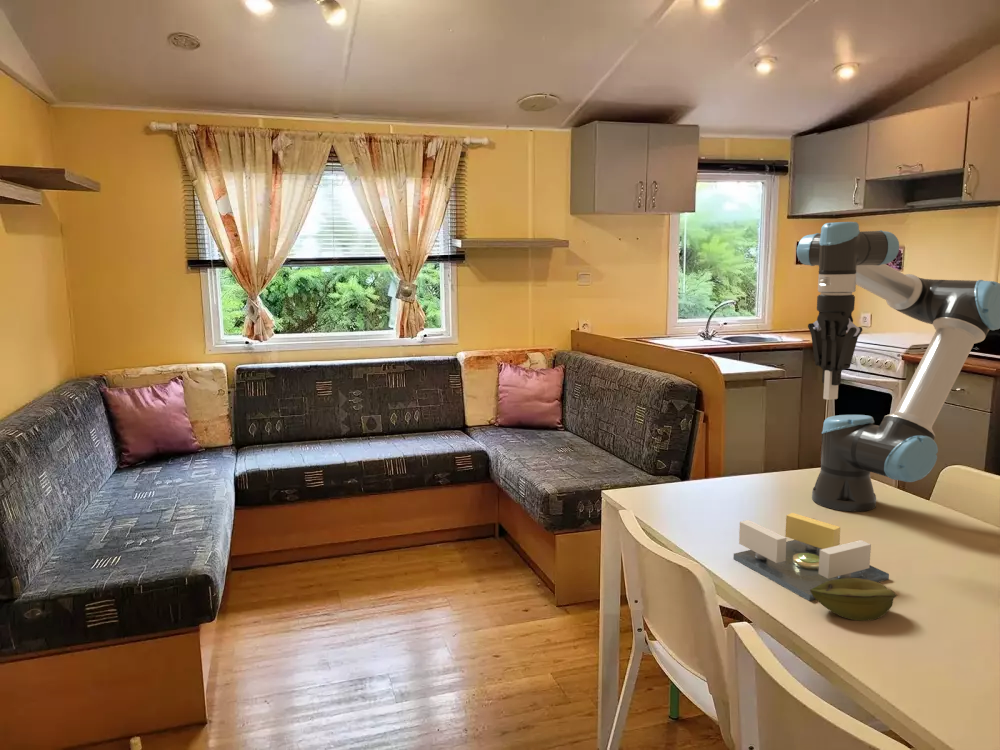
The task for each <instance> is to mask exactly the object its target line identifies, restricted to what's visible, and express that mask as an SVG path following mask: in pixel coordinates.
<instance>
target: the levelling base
mask: <svg viewBox="0 0 1000 750" xmlns="http://www.w3.org/2000/svg"><path fill="white" fill-rule="evenodd" d="M805 545H806V543H803V542H800V541H797V540H794V539H792V540H788V541H787V540H786V559H785V561H783V562H778V563H775V562H774V561H772V560H770V559H768V558H767V559H765V560H761V559H757V558H756V557H755V553H756V552H754V551H752V550H750V549H748V550H744V551H740V552H735V553H733V560H735V561H736V562H738V563H740V564H741V565H743V566H745V567H747V568H749V569H751V570H753V571H755V572H756V573H758V574H759V575H762V576H763V577H765V578H767V579H768V580H771V581H772V582H774V583H776V584H778V585H779V586H782V587H783V588H785V589H787V590H789V591H791V592H792V593H794V594H796V595H798V596H800V597H802V598H803V599H805V600H807V601H808V602H811V601H814V600H816V599H815V598H814V596H813V595H812V593H811V592H810V590H811V589H812V588H815V587H817V586H818V585H820V584H822V583H824V582H827V581H830V580H835V579H841V578H839V577H838V576H837V577H833V578H829V579H828V578H826V577H824V576H822V575H820V574H818V572H819V553H820V550H821V548H818V547H817V550H808V549H806V548H805ZM851 578H861V579H868V580H872V581H875V582H878V583H881V582H884V581H888V580H889V579H890V574H889V573H888V572H886V571H884V570H881V569H879V568H877V567H875V566H872V565H871V564H870V568H868V569H864V570H860V571H856V572H852V573H851Z"/></svg>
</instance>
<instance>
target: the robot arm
mask: <svg viewBox="0 0 1000 750" xmlns="http://www.w3.org/2000/svg"><path fill="white" fill-rule="evenodd" d="M899 252H900V241H899V239H898V237H897V236H896V235H895V234H894V233H893V232H891V231H884V230H865V231H860V224H859V223H858V222H856V221H837V222H826V223H824V224H823V225H822V226H821V228H820V232H816V233H813V234H807V235H804V236H802V237H801V238H800V240H799V241H798V245H797V247H796V256H797V259H798V260H799V262H800V263H801V264H803V265H805V266H811V267H814V266H817V267H818V280H817V292H818V293H820V294H818V295H817V297H816V311H818V315H817V317H816V320H815V321H814V322H812V323H808V324H807V329H808V330H809V332H810V335H811V343H812V350H813V358H814V364H815V366H817V367H820V368H821V369H822V379H821V381H822V384H823V394H822V395H823V396H822V398H823V400H828V401H829V400H830V401H831V400H837V399H838V398H839V386H840V385H841V383H842V371H844V370H847V369H850V367H851V364H852V360H853V356H854V353H855V349H856V346H857V342H858V339H859V336H860V335H861V334H862V333H863V327H862V326H858V325H856V324H855V323H854V318H853V316H852V313H853V311H854V310H855V300H856V296H855V295H854V294H853V293H855V292H856V290H857V289H856V287H857V286H858V287H860V288H861V289H864V290H866V291H867V292H870V293H872V294H873V295H876V296H878V297H879V298H881V299H883V300H884V301H886V303H887V305H888V306H889V307H890V308H892V309H893V310H896V312H900V313H901V314H903V315H905V316H908V317H910V318H912V319H914V320H917V321H919V322H922V323H926V324H930V325H932V326H933V328H934V329H935V332H934V335H933V336H932V338H931V340H930V342H929V343H928V347H927V348H926V350H925V352H924V354H923V356H922V357H921V360H920V361H919V364H918V365H917V368H916V369H915V372H914V374H913V375H912V377H911V379H910V381H909V383H908V385H907V387H906V389H905V391H904V393H903V394H902V397H901V399H900V401H899V403H898V404H897V407H896V408H895V411H894V412H892V413H889V414H887V415H884V416H883V418H882V421H881V422H880V424H879V425H877V424H875V420H874V417H873V416H871V415H865V414H839V415H831V416H828V417H826V418H825V419H824V421H823V426H822V431H821V451H820V454H821V455H820V457H821V458H820V471H819V474H818V477H817V478H816V481H815V483H814V486H813V487H812V493H811V499H812V501H813V502H814V503H815V504H818V505H819V506H821V507H822V506H823V507H825V508H827V509H833V510H836V511H837V510H838V511H844V512H865V511H866V512H867V511H870V510H873V509H875V507H876V506H877V495H876V493H875V490H874V487H873V482H872V478H871V473H873V474H876V475H880V476H883V477H887V478H889V479H891V480H895V481H901V482H905V483H914V482H917V481H920V480H922V479H924V478H925V477H926V476H928V474H930V472H931V471H932V469H934V467H935V465H936V463H937V460H938V455H937V454H938V453H939V447H938V444H937V443H936V441H935V438H936V434H935V432H934V430H933V426H934V423H936V420H937V418H938V416H939V414H940V411H941V410H942V409H943V406H944V403H945V402H946V400H947V398H948V396H949V394H950V392H951V390H952V388H953V386H954V384H955V383H956V381H957V379H958V377H959V375H960V372H961V371H962V368H963V367H964V364H965V363H966V361H967V359H968V356H969V354H970V353H971V352H972V351H971V350H972V349H973V347H974V344H978V343H981V342H983V341H984V340H985V339H986V337H987V335H988V333H989V331H990V330H991V331H995V330H999V329H1000V283H999V282H997V281H992V280H983V279H978V280H969V279H968V280H966V279H965V280H964V279H961V280H960V279H932V278H930V279H928V278H921V277H919V276H917V275H915V274H911V273H906V274H904V273H903V272H900V271H899V270H897V269H896V268H893V267H891V266H890V265H887V264H890V263H891V262H893V261H894V260H895V259H896V258H897V256H898V254H899Z"/></svg>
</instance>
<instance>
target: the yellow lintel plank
mask: <svg viewBox="0 0 1000 750" xmlns="http://www.w3.org/2000/svg"><path fill="white" fill-rule="evenodd" d="M785 517H786V518H785V519H786V520H785V536H784V537H786V538H789V539H792V540H797V541H800V542H803V543H806V545H805V548H806V549H808V550H817V547H818V548H821V549H825V548H829V547H834V546H838V545H840V541H841V539H840V538H841V526H837V525H834V524H833V523H832V524H831V523H828V522H825V521H821V520H818V519H816V518H815V519H814V518H812V517H811V518H810V517H807V516H804V515H801V514H798V513H795V512H790V513H789V514H786V516H785Z"/></svg>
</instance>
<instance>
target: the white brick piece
mask: <svg viewBox="0 0 1000 750" xmlns="http://www.w3.org/2000/svg"><path fill="white" fill-rule="evenodd" d="M871 551H872V544H871V543H869V542H866V541H864V540H862V539H859V540H856V541H851V542H847V543H843V544H839V545H838V546H834V547H829V548H825V549H821V550H820V553H819V572H818V574H820V575H822V576H824V577H826V578H828V579H829V578H833V577H837V576H838V577H839V578H851V573H852V572H856V571H860V570H864V569H868V568H870V565H871V553H872V552H871Z"/></svg>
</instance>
